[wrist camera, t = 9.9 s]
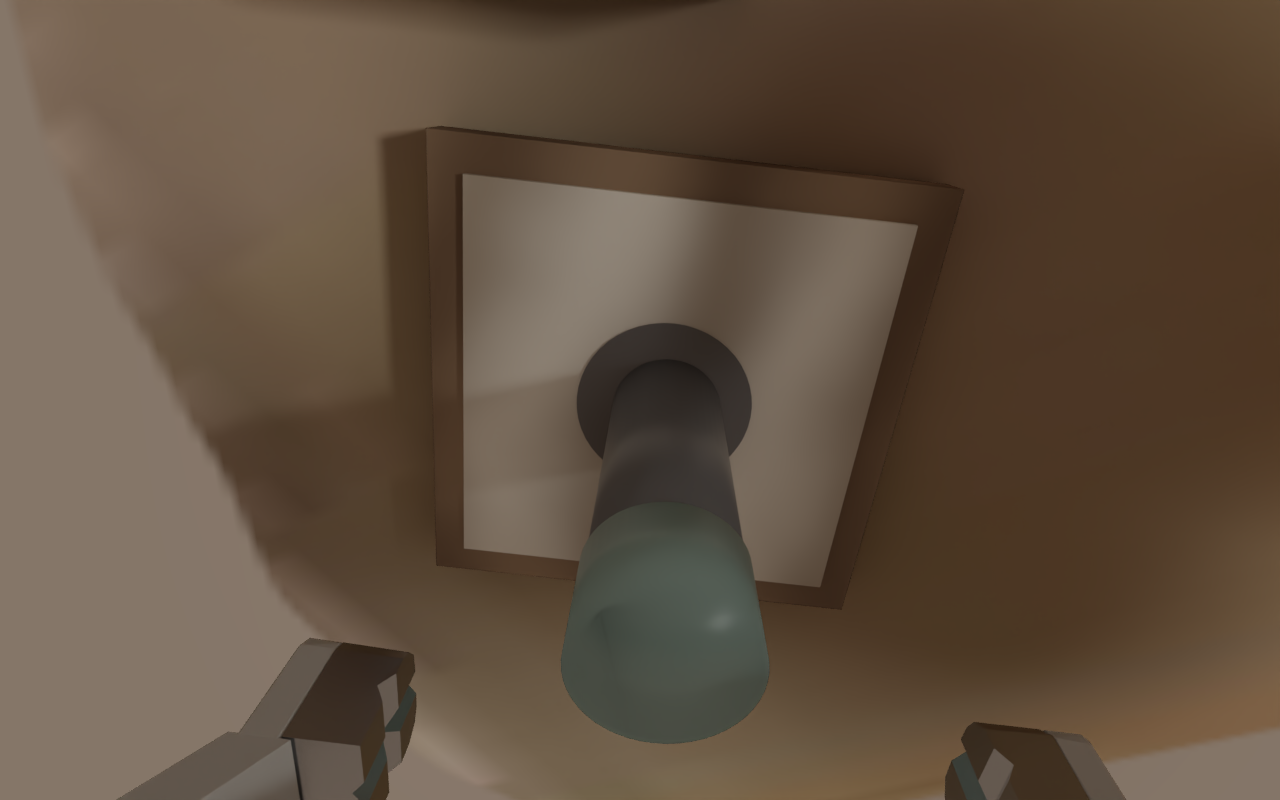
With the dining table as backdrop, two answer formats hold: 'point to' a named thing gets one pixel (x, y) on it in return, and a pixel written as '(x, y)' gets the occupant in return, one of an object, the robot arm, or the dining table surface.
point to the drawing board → (668, 339)
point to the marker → (665, 572)
